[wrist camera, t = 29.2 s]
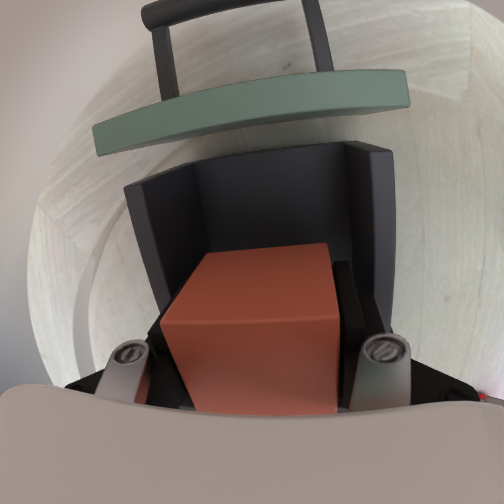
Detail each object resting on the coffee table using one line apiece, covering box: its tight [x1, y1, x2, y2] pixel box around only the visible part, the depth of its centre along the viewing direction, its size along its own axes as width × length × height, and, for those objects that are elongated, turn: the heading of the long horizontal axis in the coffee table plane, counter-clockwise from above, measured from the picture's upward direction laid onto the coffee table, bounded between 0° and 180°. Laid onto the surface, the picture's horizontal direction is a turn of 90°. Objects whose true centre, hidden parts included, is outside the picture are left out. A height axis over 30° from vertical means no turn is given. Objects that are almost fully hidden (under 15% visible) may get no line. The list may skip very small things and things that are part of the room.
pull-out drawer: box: [92, 0, 410, 333], centre depth 12 cm, size 18×10×7 cm, turn 9°
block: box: [160, 243, 340, 415], centre depth 10 cm, size 4×4×4 cm
